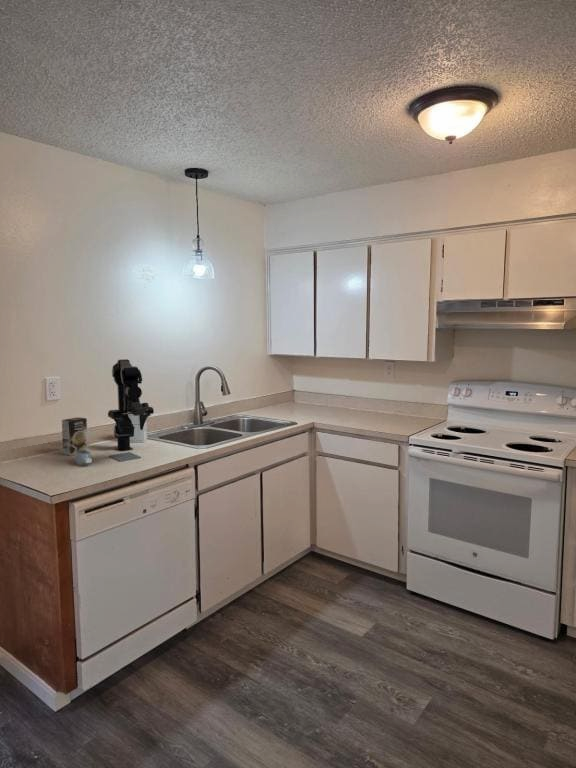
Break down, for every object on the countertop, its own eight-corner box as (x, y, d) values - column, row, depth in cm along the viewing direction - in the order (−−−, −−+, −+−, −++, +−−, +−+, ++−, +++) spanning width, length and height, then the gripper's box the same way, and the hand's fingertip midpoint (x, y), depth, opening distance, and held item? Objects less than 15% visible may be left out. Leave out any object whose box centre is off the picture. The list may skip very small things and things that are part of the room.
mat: (108, 456, 229) (108, 455, 229) (129, 452, 236) (129, 451, 236) (120, 461, 220) (120, 460, 220) (141, 457, 227) (141, 457, 227)
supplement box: (147, 438, 266) (147, 407, 264) (144, 442, 257) (144, 409, 255) (129, 438, 265) (128, 407, 263) (125, 442, 256) (124, 410, 254)
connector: (74, 462, 219) (73, 450, 219) (84, 460, 222) (83, 449, 222) (84, 467, 211) (83, 456, 210) (94, 465, 214) (94, 454, 213)
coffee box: (71, 456, 229) (69, 421, 227) (62, 454, 233) (60, 419, 231) (88, 451, 237) (87, 418, 235) (79, 449, 240) (78, 416, 238)
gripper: (119, 400, 205) (120, 438, 207) (159, 396, 218) (160, 431, 220) (106, 397, 213) (108, 433, 215) (146, 393, 226) (147, 427, 228)
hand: (131, 431), depth 219 cm, fingers open, 9 cm apart
